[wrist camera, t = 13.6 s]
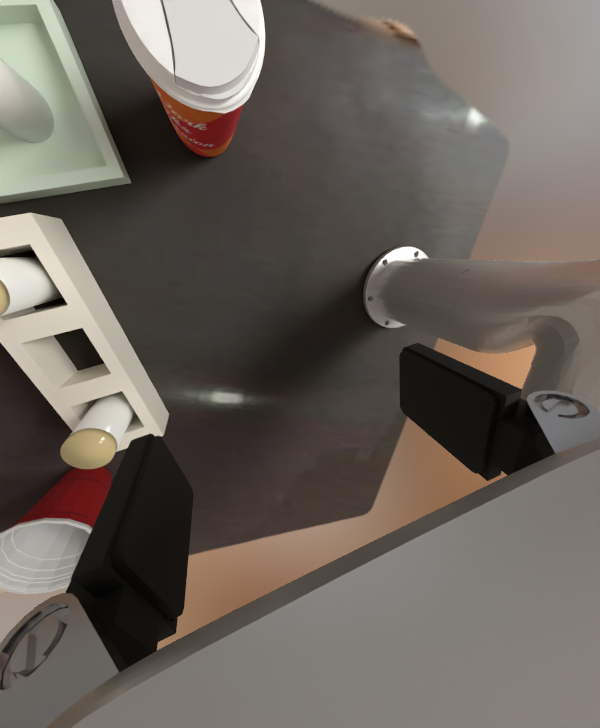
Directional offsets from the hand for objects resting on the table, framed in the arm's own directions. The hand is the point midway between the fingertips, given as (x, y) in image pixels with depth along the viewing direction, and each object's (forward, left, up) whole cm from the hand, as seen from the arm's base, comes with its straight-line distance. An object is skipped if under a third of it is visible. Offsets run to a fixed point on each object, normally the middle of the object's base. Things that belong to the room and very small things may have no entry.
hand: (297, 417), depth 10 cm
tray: (+13, -20, -28) cm, 37 cm away
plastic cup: (+29, +20, -28) cm, 45 cm away
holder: (+19, +1, -28) cm, 34 cm away
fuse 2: (+19, +9, -28) cm, 35 cm away
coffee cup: (-2, -18, -28) cm, 34 cm away
